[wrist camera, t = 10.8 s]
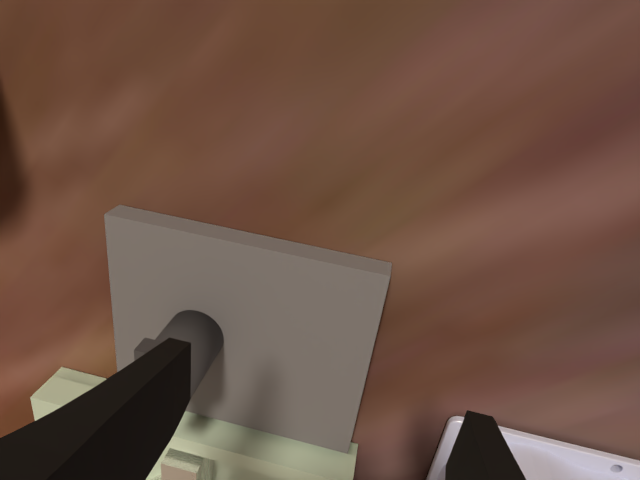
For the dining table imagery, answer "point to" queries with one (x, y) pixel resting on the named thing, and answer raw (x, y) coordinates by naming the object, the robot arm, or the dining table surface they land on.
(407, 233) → the dining table surface
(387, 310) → the dining table surface
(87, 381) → the tray
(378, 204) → the dining table surface
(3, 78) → the dining table surface
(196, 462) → the ring
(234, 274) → the base
